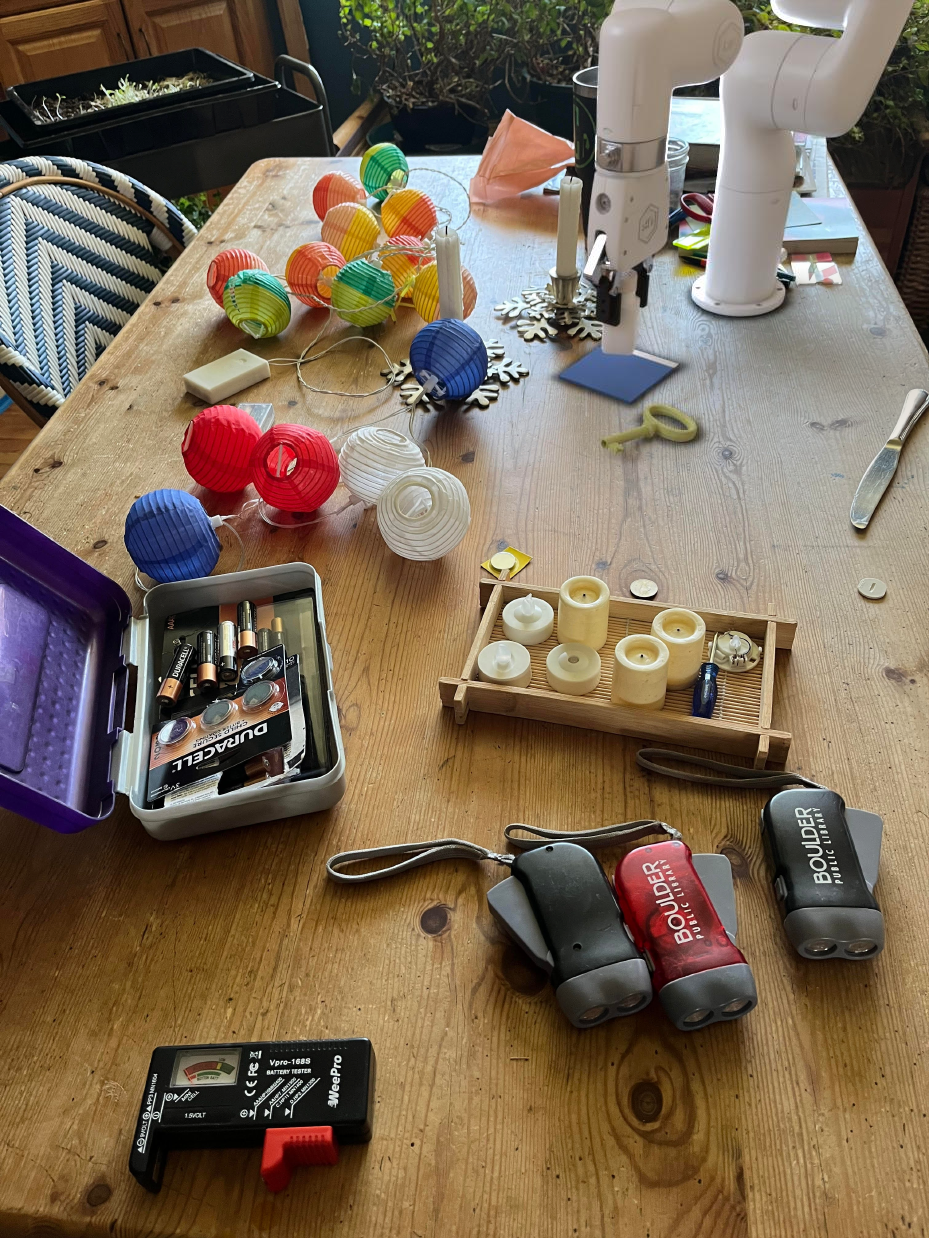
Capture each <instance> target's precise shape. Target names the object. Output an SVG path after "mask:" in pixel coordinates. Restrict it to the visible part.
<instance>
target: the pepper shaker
mask: <svg viewBox="0 0 929 1238" xmlns="http://www.w3.org/2000/svg"><path fill="white" fill-rule="evenodd" d="M612 274H613V272H612V271H610V273H609V279H610V280H611V279H612ZM636 284H637V272H636V271H634V270H633V269H629V270H627V271H626V272H622V276H621V281H620V286H619V291H618V292H619V293H622V300H621V317H620V324H619V325H618V326H617V327H614V326H611V325H608V324H604V323H602V329H601V331H602V332H601V345H602V351H603V353H605V354H618V355H631V354H632V353H633V352H634V349H636V345H637V341H638V336H639V335H638V334H639V320H640V319H639V318H640V309H641V308H640V298H639V297H638V296H636V295H635V291H636V288H637V285H636Z"/></svg>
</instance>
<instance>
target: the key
mask: <svg viewBox="0 0 929 1238" xmlns="http://www.w3.org/2000/svg"><path fill="white" fill-rule="evenodd" d="M654 415H663V416H667V417H671V418H673V419H676V420H677V421H679V422H680V423H682V424H683V425H684V426H685V427H686V429H683V430H682V429H676V428H673V427H670V426H668V425H665V424H664V423H662V422H660V421H659V420H658V419H656V418H655V417H654ZM642 421H643V422H642V425H641V426H638V427H635V428H632V429H629V430H625V431H622V432H619V433H617V434H613V435H610V436H608V437H605V438H601V440H600V446H601V448H602V449H603V450H610V451H611V452H612V453H614V454H615V455H617V454H618V453H622V452H624V451H625V447H624V446H622V445H623V444H626V443H628V442H631V441H635V440H637V439H641V438H643V437H645V438H647V439H651V438H653V436H654V435H655V434H657V435H658V436H660V437H662V438H663V439H666V440H668V441H669V440H670V441H672V442H679V443H684V442H689V441H691V440H693V439H694V438H695V436H696V434H697V432H698V427H697V423H696V422H695V421H694V420H693V418H692V417H690V416H689V415H687V414H686V413H684V412H682V411H681V410H679V409H677V408H674V407H672V406H669V405H666V404H663V403H651V404H649V405H647V406H645V408H644V410H643V413H642Z"/></svg>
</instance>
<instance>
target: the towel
mask: <svg viewBox="0 0 929 1238" xmlns="http://www.w3.org/2000/svg"><path fill="white" fill-rule="evenodd" d="M680 365H681V363H680V362H677V361H674V360H671V359H669V358H665V357H662V356H659V355H657V354H653V353H650V352H647V351H643V350H641V349H638V348H635V349H634V352H633V353H632V354H631V355H618V354H605V353H603V351H602V344H601V345H599V346H598V347H596V348H594V349H593V350H592V351H590V353H588V354H586V355H585V356H584V357H582V358H580V359H579V360H578V361H576V362H575V363H573V364H572V365H571V366H569V367H568V368H566V369H565V370H563V371H562V372H561V373H560V374H558V377H557V378H558V379H560V380H562V381H566V382H568V383H571V384H573V385H577V386H580V387H582V388H585V389H587V390H590V391H592V392H595V393H599V394H601V395H603V396H606V397H609V398H612V399H614V400H617V401H620V402H623V403H625V404H628V405H632V404H633V403H634V402H635V401H637V400H638V399H639V398H641V397H642V396H643V395H645V394H646V393H647V392H648V391H650V390H651V389H652V388H654V387H655V386H656V385H657V384H659V383H660V382H661V381H662V380H664V379H665V378H666V377H668V376H669V375H670V374H671V373H672V372H674V371H675V370H677V369H678V368H679V367H680Z"/></svg>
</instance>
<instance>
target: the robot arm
mask: <svg viewBox="0 0 929 1238" xmlns="http://www.w3.org/2000/svg"><path fill="white" fill-rule="evenodd" d="M915 1H916V0H770V5H771V9H772V11H773V13H774V14H775V15H776V16H777V17H778V19H781V20H783V21H785V22H787V23H791V24H794V25H795V24H796V25H800V26H804V27H805V26H806V27H813V28H819V29H827V30H835V31H837V30H838V31H843V33H842V35H841V37H839V38H838V37H831V36H823V35H816V34H815V35H814V34H811V33H806V32H805V33H804V32H796V31H787V30H778V29H765V30H757V31H753V32H751V33H749V34H747V35H745V21H744V19H743V14H742V13H741V10H740V9H739V8H738V6H737V5H736V4H735V3H734V2H732V1H731V0H614V2H613V5H612V8H611V11H610V14H609V15H608V16H606V18H604V20H603V22H602V24H601V27H600V30H599V40H598V61H597V63H598V64H597V66H598V67H597V92H596V93H597V94H596V97H597V98H596V132H595V154H594V155H595V157H594V169H595V172H594V177H593V182H592V189H591V197H590V204H589V211H588V215H589V216H588V224H587V244H586V245H587V263H586V265H585V267H584V270H583V272H582V277H583V278H584V279H585V280H586V281H588V282H589V283H590V284H591V285H592V287H593V290H594V291H596V293H595V295H596V296H595V321H596V322H598V323H601V324H603V323H604V324H608V325H611V326H614V327H617V326H618V325H619V324H620V317H621V300H622V293H619V292H618V291H619V286H620V281H621V276H622V272H626V271H627V270H629V269H633V270H634V271H636V272H637V284H636V285H637V288H636V291H635V295H636V296H638V297H639V298H640V308H639V309H644V308H646V307H647V306H648V301H649V290H650V289H649V287H650V276H651V275H650V274H651V273H652V271H653V268H654V258H655V256H656V253H658V252H659V251H660V250H661V249H663V248H664V246H665V245H666V243H667V241H668V235H669V224H670V223H669V221H670V197H671V196H670V191H671V187H670V186H671V185H670V183H671V182H670V181H671V180H670V165H669V159H668V156H667V155H668V146H669V145H668V143H669V134H670V122H671V109H672V100H673V92H674V90H675V89H677V88H683V87H689V86H690V87H691V86H698V85H703V84H708V83H710V82H713V81H715V80H717V79H719V78H720V79H719V104H720V122H721V125H720V127H721V130H720V131H721V134H720V149H719V159H718V168H717V176H716V183H715V192H714V200H713V207H712V215H711V216H712V217H711V225H710V232H709V241H708V247H707V248H708V249H707V256H706V257H707V258H706V265H705V272H704V275H702V276H700V277H698V279H697V280H695V282H694V283H693V284H692V288H691V298H692V300H693V302H694V303H695V304H696V305H698V306H699V307H700V308H701V309H704V310H705V311H708V312H710V313H714V314H716V315H721V316H729V317H752V316H759V315H763V314H766V313H769V312H772V311H774V310H775V309H776V308H778V307H780V306H781V305H782V304H783V302H784V300H785V296H786V287H785V285H784V284H783V282H781V280H779V279H778V278H777V275H778V271H779V266H780V265H781V263H783V262H784V261H786V259H787V258H788V251H787V249H785V248H784V247H783V242H784V239H785V232H786V227H787V221H788V216H789V209H790V204H791V198H792V193H793V188H794V182H795V178H796V174H797V173H796V172H797V163H798V162H797V161H798V160H797V157H798V156H797V148H796V144H795V141H794V140H795V139H794V137H793V134H792V132H794V133H798V134H804V135H809V136H814V137H821V138H838V137H840V136H841V137H842V136H843V135H845V134H847V133H848V132H849V131H851V130H852V129H853V128H854V127H855V126H856V124H857V123H858V121H859V120H860V119H861V117H862V115H864V112H865V110H866V108H867V106H868V105H869V102H870V101H871V98H872V97H873V94H874V92H875V90H876V88H877V85H878V83H879V81H880V78H881V77H882V74H883V72H884V70H885V68H886V66H887V63H888V62H889V59H890V57H891V54H892V53H893V50H894V49H895V46H896V44H897V42H898V40H899V38H900V35H901V33H902V31H903V29H904V27H905V24H906V22H907V20H908V18H909V16H910V13H911V11H912V9H913V6H914V3H915ZM607 271H609V272H613V274H612V279H611V280H610V277H608V276H607V275H606V272H607Z"/></svg>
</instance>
